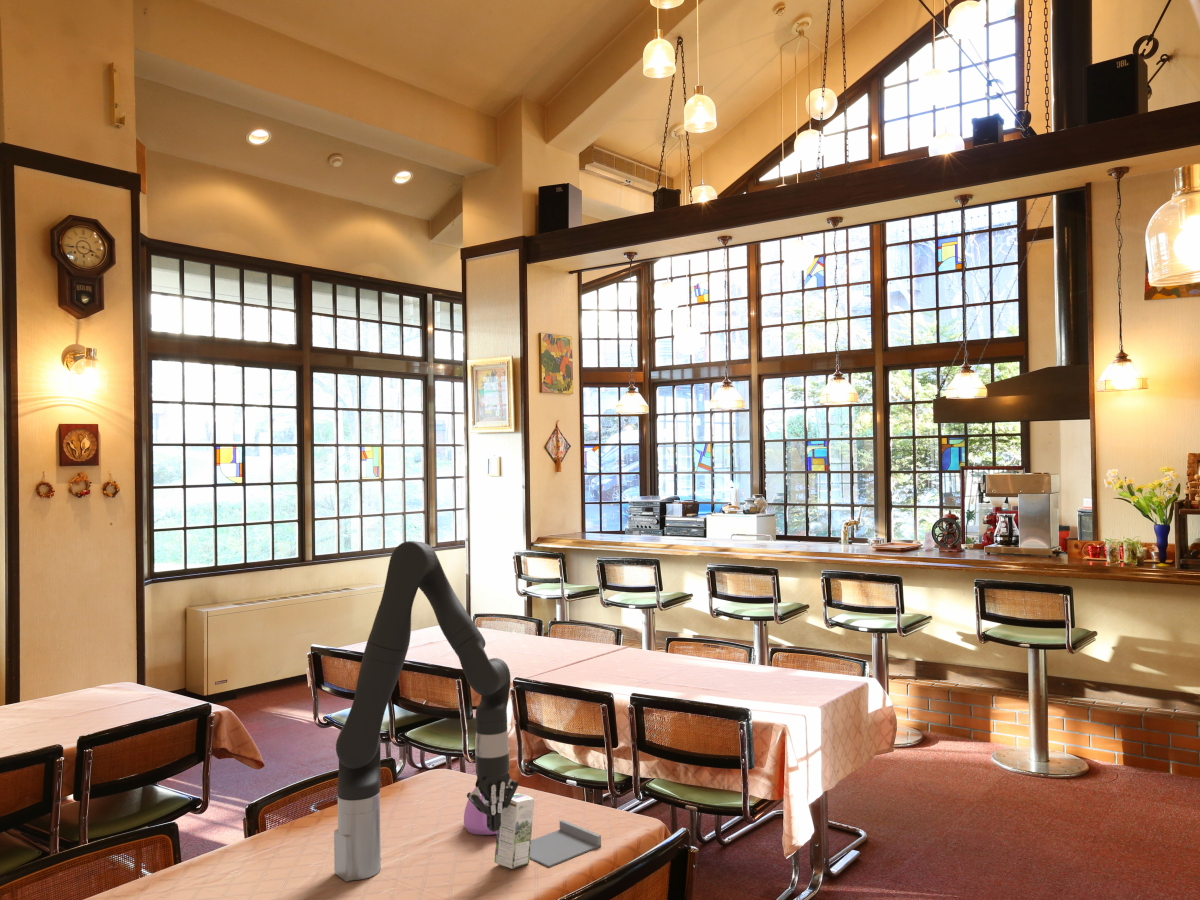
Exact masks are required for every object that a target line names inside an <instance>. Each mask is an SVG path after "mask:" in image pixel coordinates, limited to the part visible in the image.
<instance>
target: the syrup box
mask: <svg viewBox="0 0 1200 900" xmlns="http://www.w3.org/2000/svg"><path fill="white" fill-rule="evenodd" d="M534 807H535V798H533V797H531V796H529V795H527V794H524V793H519V792H518V793H516V792H515V793H514V795H513V797H512V799H511V801H510V803H509V805H508V807H507V808H504V809H502V812H501V826H500V829H499V830H497V834H496V842H495V850H494V851H495V852H494V863H495V864H497V865H500V866H503V867H506V868H508V869H512V870H513V869H516V868H519V867H523V866H525V865H528V864H529V863H530V860H531V859H530V846H531V840H532V832H533V831H532V829H533V819H534Z"/></svg>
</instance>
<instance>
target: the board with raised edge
mask: <svg viewBox="0 0 1200 900" xmlns="http://www.w3.org/2000/svg"><path fill="white" fill-rule="evenodd" d="M600 846H601V847H602V834H601V835H600V834H598V833H596V832H593V831H590V830H588V829H587V828H583V827H581V826H579V825H577V824H573V823H571V822H569V821H567V820H564V819H561V820H559V829H557V830H555V831H552V832H550V833H547V834H544V835H541V836H539V837H536V838H534V839H531V846H530V859H529V860H532V861H535V862H537V863H538V864H540V865H543V866H545V867H547V868H551V867H554V866H557V865H558V864H561V863H563V862H566V861H568V860H571V859H573V858H576V857H579V856H580V855H581V856H582V855H584V854H586V853H588V852H590V850H591V851H593V850H596V849H599V848H600ZM585 852H586V853H585ZM578 855H579V856H578Z"/></svg>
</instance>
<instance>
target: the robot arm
mask: <svg viewBox="0 0 1200 900" xmlns="http://www.w3.org/2000/svg"><path fill="white" fill-rule="evenodd" d="M392 551H393V552H392V553H391V555H390V559H389V561H388V568H387V571H386V572H387V573H386V577H385V582H384V587H383V593H382V596H381V600H380V603H379V606H378V609H377V612H376V614H375V618H374V621H373V623H372V626H371V630H370V632H369V636H368V638H367V642H366V645H365V648H364V651H363V655H362V659H361V662H360V668H359V671H358V676H357V679H356V687H355V692H354V696H353V701H352V704H351V707H350V710H349V713H348V715H347V717H346V720H345V722H344V725H343V726H342V728H341V730H340V732H339V734H338V736H337V739H336V742H335V751H336V756H337V758H338V774H337V775H338V777H337V787H336V789H337V828H336V829H335V830H334V831H333V839H334V840H333V843H334V844H333V845H334V846H333V847H334V848H333V851H334V853H333V855H334V859H333V861H334V867H333V868H334V874H335V875H336V876H338V877H339V878H341V879H342V880H344V881H345V882H351V881H359V880H365V879H369V878H371V877H373V876H375V875H377V874H378V873H379V872H380V871H381V868H382V867H381V866H382V864H381V861H382V857H381V855H382V854H381V851H382V850H381V849H382V847H381V846H382V845H381V772H382V771H381V729H382V725H383V720H384V716H385V712H386V709H387V707H388V704H389V701H390V699H391V697H392V694H393V692H394V691H395V687H396V685H397V682H398V680H399V677H400V674H401V673H402V669H403V666H404V664H405V660H406V656H407V654H408V650H409V646H410V642H411V641H410V640H411V634H412V632H411V631H412V612H413V611H412V610H413V606H414V605H413V604H414V600H415V598H416V596H417V592H418V589H420V591H421V592H422V593H423V594H424V596H425V597H426V599H427V601H428V602H429V604H430V606H431V608H432V610H433V612H434V615H435V617H436V620H437V623H438V625H439V627H440V630H441V632H442V634H443V635H444V638H445V639H446V641H447V642H448V643H449V645H450V647H451V649H452V650H453V651H454V652H455V654H456V656H457V657H458V660H459V663H460V666H461V668H462V671H463V674H464V676H465V679H466V681H467V683H468V685H469V687H471V689H472V690H473V691H474V692H476V694H478V695H481V697H480V702H479V704H478V705H477V706H476V709H475V738H474V739H475V740H474V750H475V751H474V754H475V755H474V758H475V774H476V781H475V784H474V785H475V787H476V788H475V787H474V788H475V789H474V788H473V789H474V790H473V789H472V790H473V792H472V791H471V792H472V793H471V792H470V791H469V792H468V793H467V794H466V798H467V800H468V799H469V800H470V801H471V802H472V803H473V805H474V806H475V807H476V808H477V809H478V811H479V812H482V813H484V814H487V827H488V828H489V830H490V831H493V832H494V831H497V830H499V829H500V826H501V812H502V809H504V808H507V807H508V805H509V803H510V801H511V799H512V797H513V795H514V794H516V791H517V789H518V787H519V782H518V781H515V780H513V779H512V778H511V776H510V773H509V772H510V739H509V732H508V711H507V710H508V709H507V708H508V702H509V698H510V697H509V696H510V691H511V672H510V669H509V666H508V664H507V663H506V662H505V661H504V660H502V659H501V658H497V657H496V658H495V657H494V658H489V657H488V656H487V653H486V651H485V647H486V639H485V638H484V636H483V634H482V633H481V632H480V630H479V629H478V627H477V625H476V624H475V622H474V621H473V619H472V618H471V617H470V615H469V613H468V611H467V609H465V607H464V606H463V604H462V603H461V601H460V599H459V597H458V596H457V594H456V592H455V591H454V589H453V588H452V585H451V583H450V581H449V579H448V578H447V576H446V573H445V571H444V569H443V567H442V563H441V562H440V559H439V557H438V555H437V553H436V551H435V549H434V548H433V547H432V546H431V545H429V544H428V543H425V542H422V541H414V540H411V541H410V540H409V541H404V542H402V543H400V544H399V545H398V546H396V547H395V549H393V550H392ZM480 794H481V795H482V796H483V802H484V803H485V804H484V803H483V802H482V801H481V800H480V799H481V796H480Z"/></svg>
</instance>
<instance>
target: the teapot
mask: <svg viewBox="0 0 1200 900" xmlns="http://www.w3.org/2000/svg"><path fill="white" fill-rule="evenodd" d="M475 788H476V786H475V787H474V788H473V789H472V791H471V792H470V793H472V792H473V790H474V789H475ZM480 796H481V799H480V800H481V801H482V802H483V796H482V795H481V794H480ZM483 803H484V802H483ZM484 804H485V803H484ZM463 825H464V827H465V830H467V832H468V833H470V834H472V835H473V834H474V835H482V836H485V835H486V836H490V835H492V836H493V835H497V831H494V832H493V831H490V830H489V828H488V827H487V814H484V813H482V812H479V811H478V809H477V808H476V807H475V806H474V805H473V803H472V802H471V801H470V800H469V799H468V798H467V801H466V804H465V808H464V814H463Z"/></svg>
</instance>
